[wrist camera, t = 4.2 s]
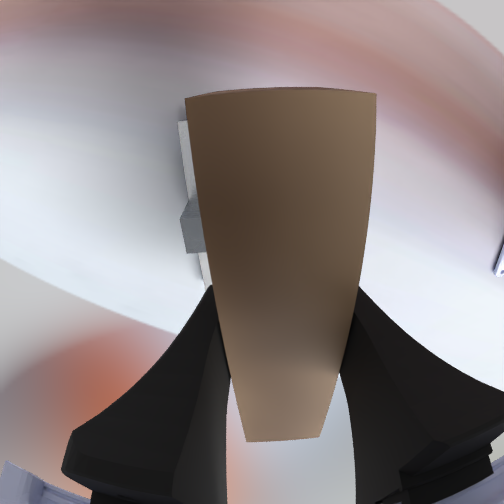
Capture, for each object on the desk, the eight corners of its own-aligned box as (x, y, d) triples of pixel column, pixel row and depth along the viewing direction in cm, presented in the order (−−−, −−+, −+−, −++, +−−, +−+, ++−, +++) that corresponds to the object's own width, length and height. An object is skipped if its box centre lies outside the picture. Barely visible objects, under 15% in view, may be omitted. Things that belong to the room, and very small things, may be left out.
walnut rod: (319, 87, 9) (376, 94, 5) (307, 360, 16) (319, 437, 12) (215, 91, 9) (184, 98, 5) (247, 364, 16) (246, 442, 12)
